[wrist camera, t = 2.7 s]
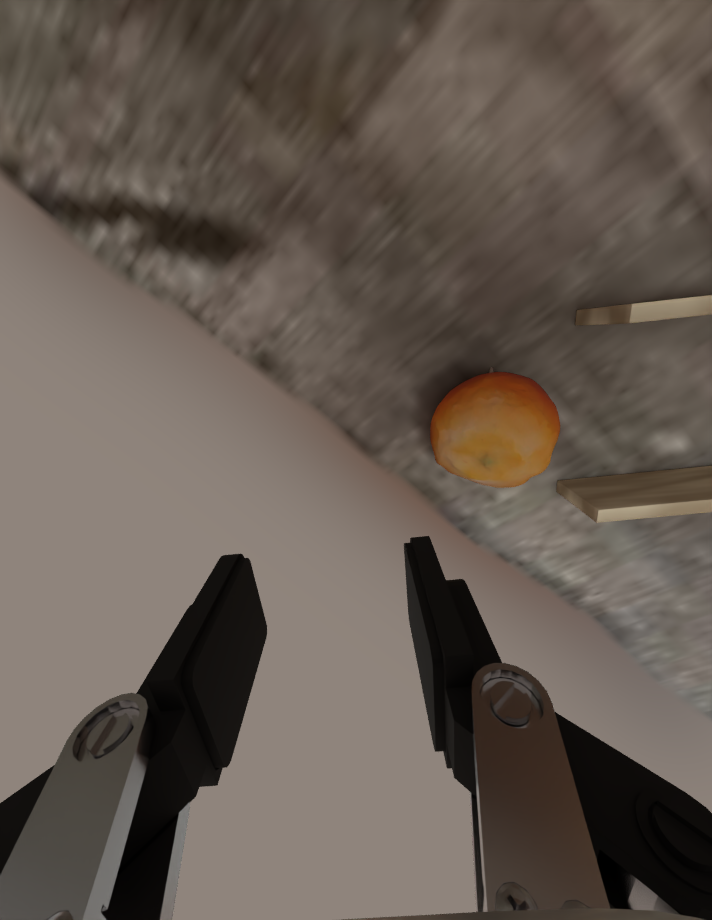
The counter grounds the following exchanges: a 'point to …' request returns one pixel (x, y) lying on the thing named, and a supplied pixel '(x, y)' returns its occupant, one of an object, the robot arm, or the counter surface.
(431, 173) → the counter surface
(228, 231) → the counter surface
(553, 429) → the fruit
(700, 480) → the box
